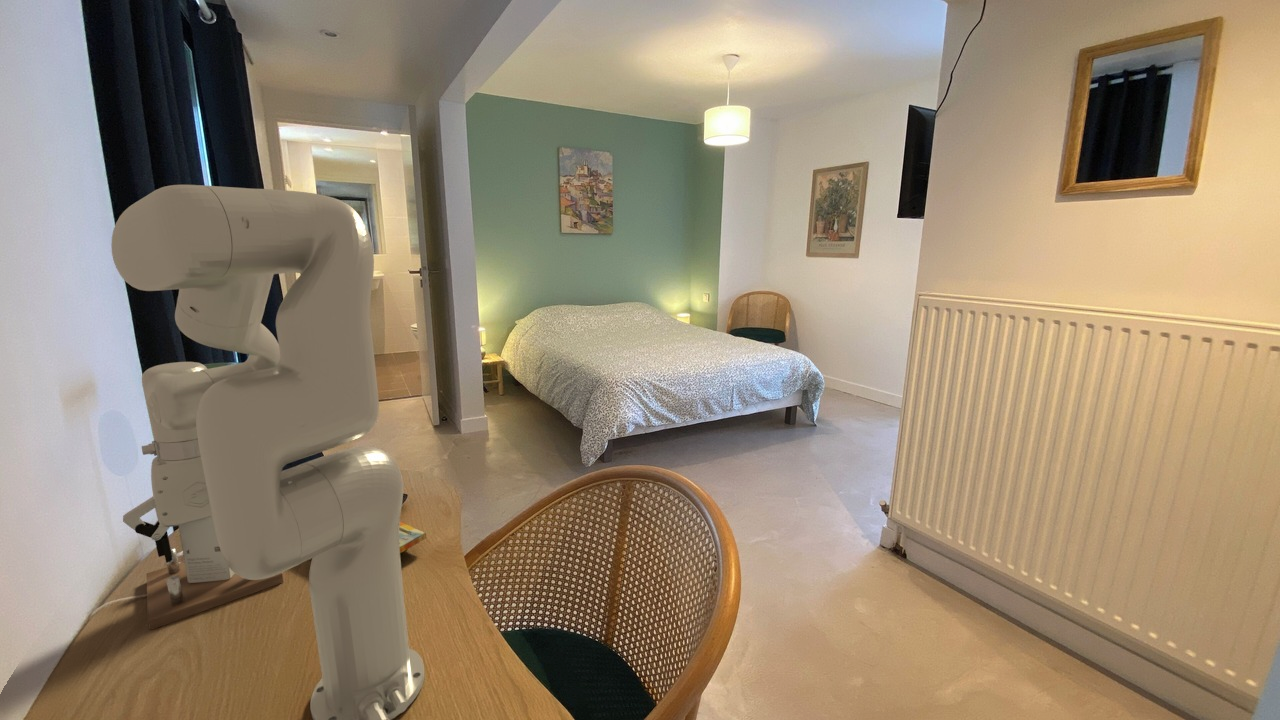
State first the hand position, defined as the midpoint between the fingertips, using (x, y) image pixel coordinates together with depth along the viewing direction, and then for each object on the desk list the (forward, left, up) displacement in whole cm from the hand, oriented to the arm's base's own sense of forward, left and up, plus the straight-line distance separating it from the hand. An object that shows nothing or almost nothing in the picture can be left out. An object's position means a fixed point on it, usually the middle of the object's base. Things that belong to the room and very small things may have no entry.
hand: (209, 546), depth 84 cm
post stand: (0, 0, -6) cm, 6 cm away
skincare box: (0, 0, -5) cm, 5 cm away
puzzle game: (-5, -20, -7) cm, 22 cm away
